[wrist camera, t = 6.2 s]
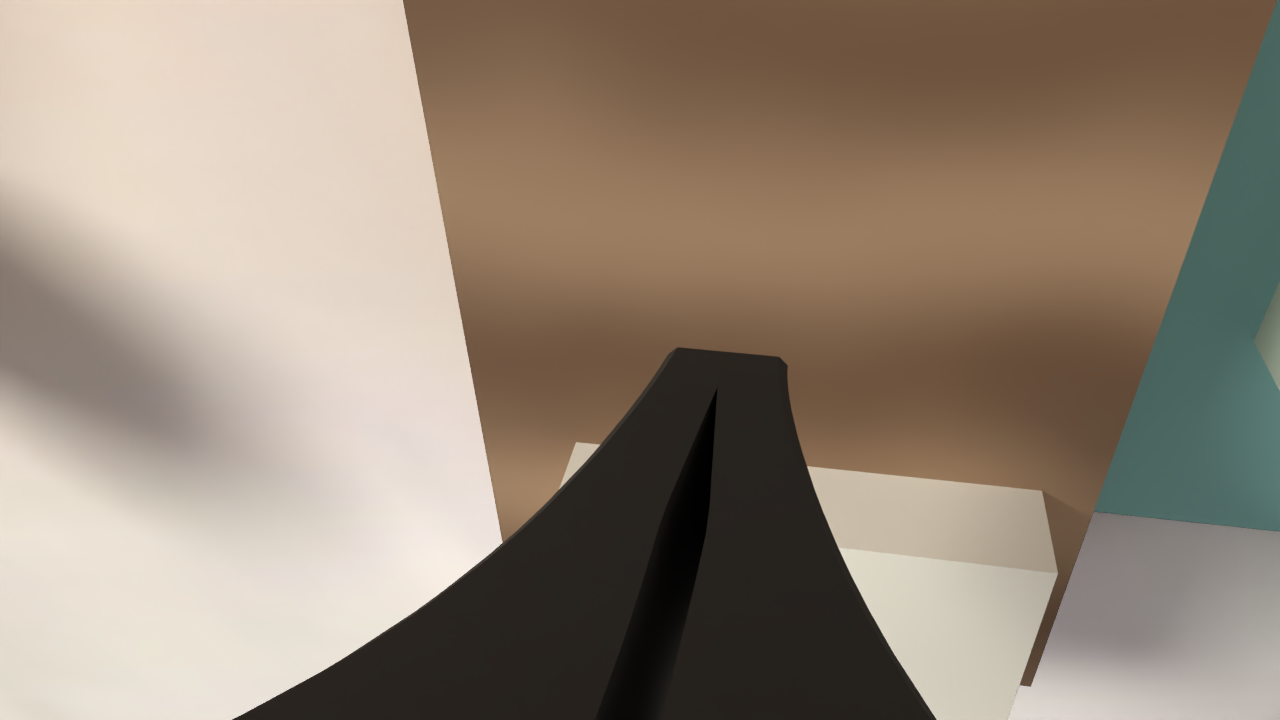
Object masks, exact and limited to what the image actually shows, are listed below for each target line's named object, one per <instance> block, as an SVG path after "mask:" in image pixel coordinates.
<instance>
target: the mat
mask: <svg viewBox="0 0 1280 720" xmlns="http://www.w3.org/2000/svg"><path fill="white" fill-rule="evenodd" d="M1279 281H1280V0H1277V2H1276V5H1275V7H1274V10H1273V13H1272V16H1271V19H1270V21H1269V24H1268V27H1267V30H1266V32H1265V35H1264V38H1263V41H1262V44H1261V46H1260V49H1259V52H1258V55H1257V58H1256V60H1255V63H1254V66H1253V69H1252V71H1251V74H1250V77H1249V80H1248V83H1247V85H1246V88H1245V91H1244V94H1243V97H1242V99H1241V102H1240V105H1239V108H1238V110H1237V113H1236V116H1235V119H1234V122H1233V124H1232V127H1231V130H1230V133H1229V136H1228V138H1227V141H1226V144H1225V147H1224V149H1223V152H1222V155H1221V158H1220V161H1219V163H1218V166H1217V169H1216V172H1215V175H1214V177H1213V180H1212V183H1211V186H1210V188H1209V191H1208V194H1207V197H1206V200H1205V202H1204V205H1203V208H1202V211H1201V214H1200V216H1199V219H1198V222H1197V225H1196V227H1195V230H1194V233H1193V236H1192V239H1191V241H1190V244H1189V247H1188V250H1187V253H1186V255H1185V258H1184V261H1183V264H1182V266H1181V269H1180V272H1179V275H1178V278H1177V280H1176V283H1175V286H1174V289H1173V292H1172V294H1171V297H1170V300H1169V303H1168V305H1167V308H1166V311H1165V314H1164V317H1163V319H1162V322H1161V325H1160V328H1159V331H1158V333H1157V336H1156V339H1155V342H1154V344H1153V347H1152V350H1151V353H1150V356H1149V358H1148V361H1147V364H1146V367H1145V370H1144V372H1143V375H1142V378H1141V381H1140V384H1139V386H1138V389H1137V392H1136V395H1135V397H1134V400H1133V403H1132V406H1131V409H1130V411H1129V414H1128V417H1127V420H1126V423H1125V425H1124V428H1123V431H1122V434H1121V436H1120V439H1119V442H1118V445H1117V448H1116V450H1115V453H1114V456H1113V459H1112V462H1111V464H1110V467H1109V470H1108V473H1107V475H1106V478H1105V481H1104V484H1103V487H1102V489H1101V492H1100V495H1099V498H1098V501H1097V503H1096V506H1095V509H1094V512H1102V513H1111V514H1121V515H1130V516H1140V517H1149V518H1158V519H1168V520H1177V521H1186V522H1196V523H1205V524H1214V525H1224V526H1233V527H1242V528H1252V529H1261V530H1271V531H1280V391H1279V389H1278V387H1277V385H1276V383H1275V381H1274V379H1273V377H1272V375H1271V373H1270V372H1269V370H1268V368H1267V366H1266V364H1265V362H1264V360H1263V358H1262V356H1261V354H1260V353H1259V351H1258V349H1257V347H1256V345H1255V343H1254V339H1255V336H1256V334H1257V332H1258V329H1259V327H1260V325H1261V322H1262V320H1263V318H1264V316H1265V313H1266V311H1267V309H1268V306H1269V304H1270V302H1271V299H1272V297H1273V295H1274V293H1275V290H1276V288H1277V286H1278V283H1279Z"/></svg>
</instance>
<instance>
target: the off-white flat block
mask: <svg viewBox="0 0 1280 720" xmlns="http://www.w3.org/2000/svg"><path fill="white" fill-rule="evenodd" d="M599 446H600V445H599V444H589V443H579V442H576V444H575V446H574V449H573V452H572V455H571V457H570V460H569V463H568V466H567V469H566V471H565V474H564V477H563V480H562V482H561V485H560V488H561V487H562V486H563V485H564V484H565V483H566V482H567V481H568V480H569V479H570V478H571V476H572V475H573V474H574V473H575V472H576V471H577V470H578V469H579V468H580V467H581V466H582V465H583V464H584V463H585V462H586V461H587V460H588V458H589V457H590V456H591V455H592V454H593V453H594V452H595V450H596V449H597V448H598V447H599ZM807 468H808V471H809V474H810V477H811V480H812V483H813V486H814V489H815V492H816V494H817V497H818V499H819V502H820V505H821V507H822V510H823V513H824V515H825V517H826V520H827V522H828V525H829V527H830V529H831V532H832V534H833V537H834V539H835V541H836V544H837V546H838V548H839V550H840V552H841V555H842V557H843V559H844V561H845V563H846V565H847V567H848V570H849V572H850V574H851V576H852V578H853V580H854V582H855V584H856V586H857V588H858V590H859V591H860V593H861V595H862V597H863V599H864V601H865V603H866V605H867V607H868V609H869V611H870V613H871V614H872V616H873V618H874V620H875V621H876V623H877V625H878V627H879V628H880V630H881V632H882V634H883V636H884V637H885V639H886V641H887V643H888V644H889V646H890V648H891V650H892V651H893V653H894V655H895V656H896V658H897V659H898V661H899V662H900V664H901V665H902V667H903V668H904V670H905V672H906V673H907V675H908V676H909V678H910V679H911V681H912V682H913V684H914V685H915V687H916V688H917V690H918V692H919V693H920V695H921V696H922V698H923V699H924V701H925V702H926V704H927V705H928V707H929V709H930V710H931V712H932V713H933V715H934V716H935V718H936V719H937V720H1007V719H1008V717H1009V714H1010V711H1011V708H1012V705H1013V702H1014V699H1015V696H1016V693H1017V691H1018V688H1019V685H1020V682H1021V679H1022V676H1023V673H1024V670H1025V667H1026V665H1027V662H1028V659H1029V656H1030V653H1031V650H1032V647H1033V644H1034V641H1035V639H1036V636H1037V633H1038V630H1039V627H1040V624H1041V621H1042V618H1043V615H1044V613H1045V610H1046V607H1047V604H1048V601H1049V598H1050V595H1051V592H1052V589H1053V587H1054V584H1055V581H1056V578H1057V575H1058V571H1057V566H1056V560H1055V555H1054V550H1053V545H1052V540H1051V535H1050V529H1049V524H1048V519H1047V514H1046V509H1045V503H1044V498H1043V493H1042V491H1040V490H1030V489H1021V488H1011V487H1001V486H992V485H982V484H973V483H963V482H954V481H944V480H934V479H925V478H915V477H906V476H896V475H886V474H877V473H867V472H858V471H848V470H838V469H829V468H819V467H810V466H807ZM560 488H559V489H560Z"/></svg>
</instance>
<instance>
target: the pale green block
mask: <svg viewBox="0 0 1280 720" xmlns="http://www.w3.org/2000/svg"><path fill="white" fill-rule="evenodd" d="M1254 343H1255V345H1256V347H1257V349H1258V351H1259V353H1260V354H1261V356H1262V358H1263V360H1264V362H1265V364H1266V366H1267V368H1268V370H1269V372H1270V373H1271V375H1272V377H1273V379H1274V381H1275V383H1276V385H1277V387H1278V389H1279V391H1280V281H1279V283H1278V286H1277V288H1276V290H1275V293H1274V295H1273V297H1272V299H1271V302H1270V304H1269V306H1268V309H1267V311H1266V313H1265V316H1264V318H1263V320H1262V322H1261V325H1260V327H1259V329H1258V332H1257V334H1256V336H1255V339H1254Z"/></svg>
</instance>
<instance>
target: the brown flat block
mask: <svg viewBox="0 0 1280 720" xmlns="http://www.w3.org/2000/svg"><path fill="white" fill-rule="evenodd" d="M1276 2H1277V0H403V3H404V8H405V14H406V19H407V25H408V30H409V36H410V41H411V46H412V52H413V57H414V63H415V68H416V74H417V79H418V85H419V90H420V95H421V101H422V106H423V112H424V117H425V123H426V128H427V133H428V139H429V144H430V150H431V155H432V161H433V166H434V172H435V177H436V182H437V188H438V193H439V199H440V204H441V210H442V215H443V221H444V226H445V231H446V237H447V242H448V248H449V253H450V259H451V264H452V269H453V275H454V280H455V286H456V291H457V297H458V302H459V308H460V313H461V318H462V324H463V329H464V335H465V340H466V346H467V351H468V356H469V362H470V367H471V373H472V378H473V384H474V389H475V395H476V400H477V405H478V411H479V416H480V422H481V427H482V433H483V438H484V443H485V449H486V454H487V460H488V465H489V471H490V476H491V482H492V487H493V492H494V498H495V503H496V509H497V514H498V520H499V525H500V530H501V536H502V541H503V542H504V541H506V540H507V539H508V538H509V537H510V536H511V535H512V534H514V533H515V532H516V531H517V530H518V529H519V528H520V527H521V526H522V525H524V524H525V523H526V522H527V521H528V520H529V519H530V518H531V517H532V516H533V515H534V514H535V513H536V512H537V511H538V510H539V509H540V508H541V507H543V506H544V505H545V504H546V503H547V502H548V501H549V500H550V499H551V498H552V496H553V495H554V494H555V493H556V492H557V491H558V490H559V488H560V485H561V482H562V480H563V477H564V474H565V471H566V469H567V466H568V463H569V460H570V457H571V455H572V452H573V449H574V446H575V444H576V442H579V443H589V444H599V445H600V444H601V443H602V442H603V441H604V440H605V438H606V437H607V436H608V435H609V434H610V432H611V431H612V430H613V429H614V428H615V426H616V425H617V424H618V423H619V422H620V420H621V419H622V418H623V417H624V416H625V414H626V413H627V412H628V410H629V409H630V408H631V407H632V405H633V404H634V403H635V401H636V400H637V399H638V397H639V396H640V395H641V393H642V392H643V391H644V389H645V388H646V387H647V385H648V384H649V382H650V381H651V380H652V378H653V377H654V375H655V374H656V372H657V371H658V369H659V368H660V366H661V365H662V363H663V361H664V360H665V358H666V357H667V355H668V354H669V353H670V352H672V351H673V350H674V349H676V348H677V347H681V348H692V349H703V350H713V351H724V352H735V353H745V354H756V355H767V356H777V357H780V358H781V359H782V360H783V361H784V362H785V363H786V364H787V365H788V370H787V378H788V390H789V398H790V403H791V409H792V414H793V418H794V422H795V427H796V431H797V435H798V439H799V442H800V446H801V449H802V452H803V455H804V459H805V462H806V465H807V466H810V467H819V468H829V469H838V470H848V471H858V472H867V473H877V474H886V475H896V476H906V477H915V478H925V479H934V480H944V481H954V482H963V483H973V484H982V485H992V486H1001V487H1011V488H1021V489H1030V490H1040V491H1042V493H1043V498H1044V503H1045V509H1046V514H1047V519H1048V524H1049V529H1050V535H1051V540H1052V545H1053V550H1054V555H1055V560H1056V566H1057V571H1058V575H1057V578H1056V581H1055V584H1054V587H1053V589H1052V592H1051V595H1050V598H1049V601H1048V604H1047V607H1046V610H1045V613H1044V615H1043V618H1042V621H1041V624H1040V627H1039V630H1038V633H1037V636H1036V639H1035V641H1034V644H1033V647H1032V650H1031V653H1030V656H1029V659H1028V662H1027V665H1026V667H1025V670H1024V673H1023V676H1022V679H1021V682H1020V685H1023V686H1031V684H1032V682H1033V679H1034V676H1035V673H1036V670H1037V668H1038V665H1039V662H1040V659H1041V657H1042V654H1043V651H1044V648H1045V645H1046V643H1047V640H1048V637H1049V634H1050V631H1051V629H1052V626H1053V623H1054V620H1055V618H1056V615H1057V612H1058V609H1059V606H1060V604H1061V601H1062V598H1063V595H1064V592H1065V590H1066V587H1067V584H1068V581H1069V579H1070V576H1071V573H1072V570H1073V567H1074V565H1075V562H1076V559H1077V556H1078V553H1079V551H1080V548H1081V545H1082V542H1083V540H1084V537H1085V534H1086V531H1087V528H1088V526H1089V523H1090V520H1091V517H1092V514H1093V512H1094V509H1095V506H1096V503H1097V501H1098V498H1099V495H1100V492H1101V489H1102V487H1103V484H1104V481H1105V478H1106V475H1107V473H1108V470H1109V467H1110V464H1111V462H1112V459H1113V456H1114V453H1115V450H1116V448H1117V445H1118V442H1119V439H1120V436H1121V434H1122V431H1123V428H1124V425H1125V423H1126V420H1127V417H1128V414H1129V411H1130V409H1131V406H1132V403H1133V400H1134V397H1135V395H1136V392H1137V389H1138V386H1139V384H1140V381H1141V378H1142V375H1143V372H1144V370H1145V367H1146V364H1147V361H1148V358H1149V356H1150V353H1151V350H1152V347H1153V344H1154V342H1155V339H1156V336H1157V333H1158V331H1159V328H1160V325H1161V322H1162V319H1163V317H1164V314H1165V311H1166V308H1167V305H1168V303H1169V300H1170V297H1171V294H1172V292H1173V289H1174V286H1175V283H1176V280H1177V278H1178V275H1179V272H1180V269H1181V266H1182V264H1183V261H1184V258H1185V255H1186V253H1187V250H1188V247H1189V244H1190V241H1191V239H1192V236H1193V233H1194V230H1195V227H1196V225H1197V222H1198V219H1199V216H1200V214H1201V211H1202V208H1203V205H1204V202H1205V200H1206V197H1207V194H1208V191H1209V188H1210V186H1211V183H1212V180H1213V177H1214V175H1215V172H1216V169H1217V166H1218V163H1219V161H1220V158H1221V155H1222V152H1223V149H1224V147H1225V144H1226V141H1227V138H1228V136H1229V133H1230V130H1231V127H1232V124H1233V122H1234V119H1235V116H1236V113H1237V110H1238V108H1239V105H1240V102H1241V99H1242V97H1243V94H1244V91H1245V88H1246V85H1247V83H1248V80H1249V77H1250V74H1251V71H1252V69H1253V66H1254V63H1255V60H1256V58H1257V55H1258V52H1259V49H1260V46H1261V44H1262V41H1263V38H1264V35H1265V32H1266V30H1267V27H1268V24H1269V21H1270V19H1271V16H1272V13H1273V10H1274V7H1275V5H1276Z"/></svg>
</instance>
